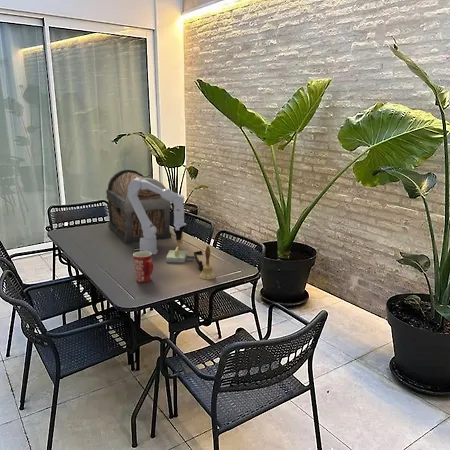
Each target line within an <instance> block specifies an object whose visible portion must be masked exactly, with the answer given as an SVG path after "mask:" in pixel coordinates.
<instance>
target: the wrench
mask: <svg viewBox="0 0 450 450" xmlns="http://www.w3.org/2000/svg"><path fill="white" fill-rule="evenodd" d="M193 254H194V255H193V256H194V259H195V260H196V263H197V264H198V270H199V271H200V272H202V271H203V266H204V265H203V261H200V260H199V257H198V256H197V255H203V251H202V250H198V251H193Z"/></svg>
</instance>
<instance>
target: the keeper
mask: <svg viewBox="0 0 450 450" xmlns="http://www.w3.org/2000/svg"><path fill="white" fill-rule="evenodd" d="M194 259H195V256H194V255H187V257H186V260H185V262H194Z"/></svg>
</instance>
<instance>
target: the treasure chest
mask: <svg viewBox="0 0 450 450" xmlns="http://www.w3.org/2000/svg"><path fill="white" fill-rule="evenodd" d="M138 177H139V178H142V179H144V180H147V181H148V182H150V183H152V184H154V185H156V186H157V187H159V188H161V189H163V190H164V189H167V188H166V187H165V185H164V184H163V182H160V181H159V180H157V179H155V178H149V177H145V176H144V175H143V174H142V173H140V172H138V171H137V170H133V169H124V170H120V171H118V172H116V173H115V174H113V176H112V177H110V179H109V181H108V184H107V189H106V190H105V193H106V200H107V201H108V206H107V207H108V223H107V224H108V228H109V230H111V231H112V232H113V233H114V234H115V235H116V236H117V237H118V238H119V239H120V240H121V241H122V242H123V243H124V244H126V245H127V244H128V245H131V244H138V243H139V244H140V238H143V237H144V236H143V230H142V225H141V223H140V221H139V219H138V217H137V214H136V212H135V210H134V208H133V206H132V204H131V202H130V200H129V198H128V186H129V184H130V182H131V181H132V180H134V179H135V178H138ZM138 198H139V200H140V202H141V204H142V206H143V208H144V210H145V212H146V214H147V216H148V218H149V220H150V221H151V222H152V224H153V225H154V226H155V227H156V229H157V232H156V233H155V235H156V241H161V240H167V239H168V240H169V239H172V236H173V235H172V232H171V231H170V229H171V228H170V227H171V226H170V224H171V215H170V214H171V213H170V212H171V208H172V207H171V206H172V203H171V202H169V201H167V200H165V199H163V198H162V197H161V195H160V194H158V193H155V192H153V191H151V190H148V189H144V190H141V189H140V191H139V194H138Z"/></svg>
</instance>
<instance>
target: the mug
mask: <svg viewBox="0 0 450 450" xmlns="http://www.w3.org/2000/svg"><path fill="white" fill-rule="evenodd" d="M152 255H153V254H152V253H151V252H148V251H140V250H139V251H136V252H133V254H132V256H133V263H134V265H133V266H134V271H135V272H134V275H135V281H136V282H138V283H148V282H150V281H152V273H153V270H154V263H153V261H152Z"/></svg>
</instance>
